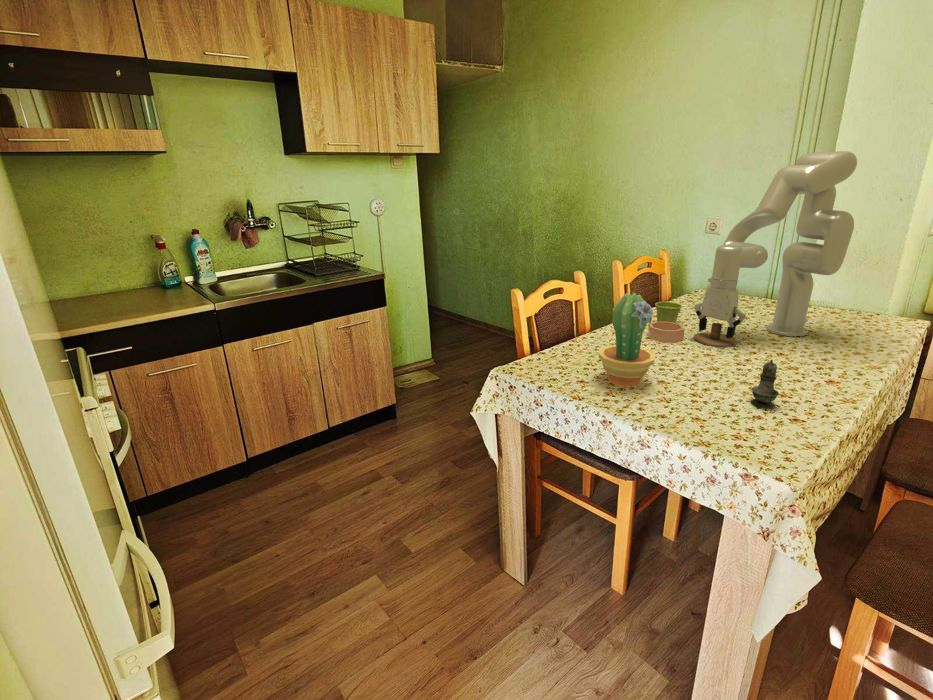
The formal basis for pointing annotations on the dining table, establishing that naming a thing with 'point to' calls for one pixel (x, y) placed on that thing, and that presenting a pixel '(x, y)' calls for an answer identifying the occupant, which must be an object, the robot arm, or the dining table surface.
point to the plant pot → (667, 311)
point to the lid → (714, 337)
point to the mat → (714, 346)
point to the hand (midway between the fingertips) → (715, 333)
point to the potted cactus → (628, 342)
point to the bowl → (666, 332)
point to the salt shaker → (766, 387)
